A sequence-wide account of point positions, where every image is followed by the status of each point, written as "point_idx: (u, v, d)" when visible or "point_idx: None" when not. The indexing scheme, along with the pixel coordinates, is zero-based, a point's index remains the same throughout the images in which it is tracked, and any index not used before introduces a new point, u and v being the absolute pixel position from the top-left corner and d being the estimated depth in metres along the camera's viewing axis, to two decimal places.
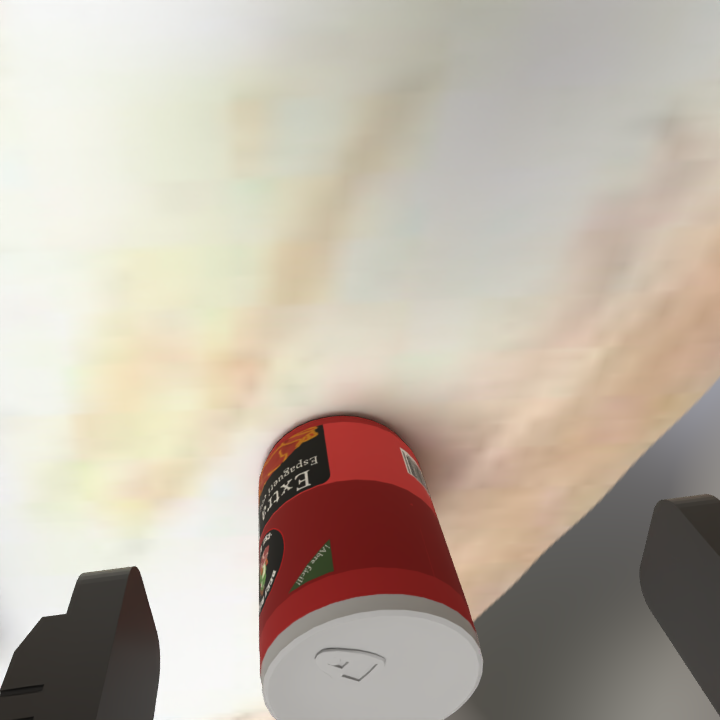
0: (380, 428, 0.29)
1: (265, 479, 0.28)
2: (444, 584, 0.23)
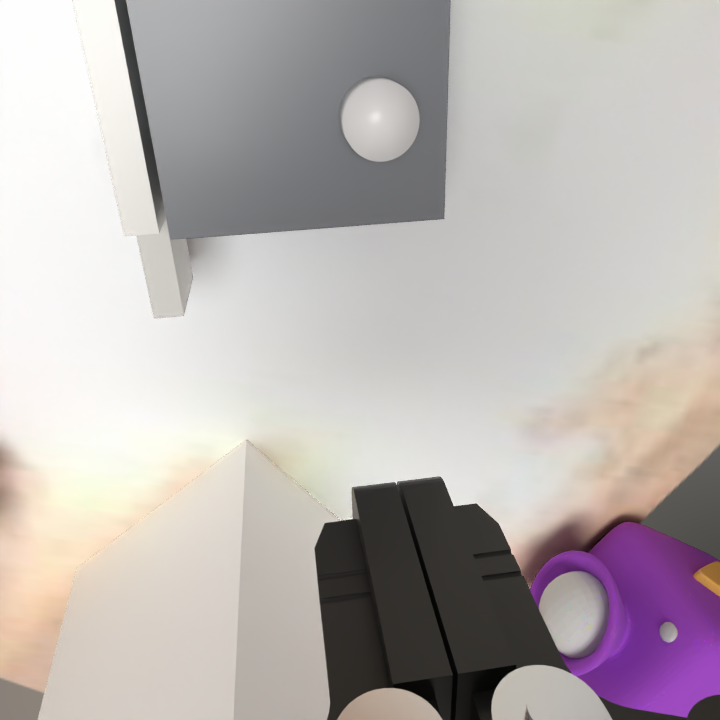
0: None
1: None
2: None
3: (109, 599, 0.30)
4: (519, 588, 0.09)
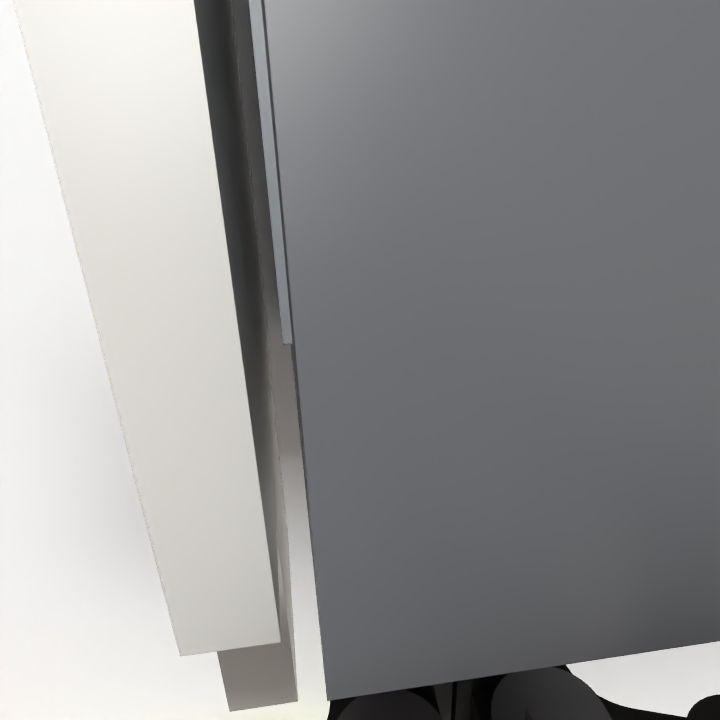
0: None
1: None
2: None
3: None
4: None
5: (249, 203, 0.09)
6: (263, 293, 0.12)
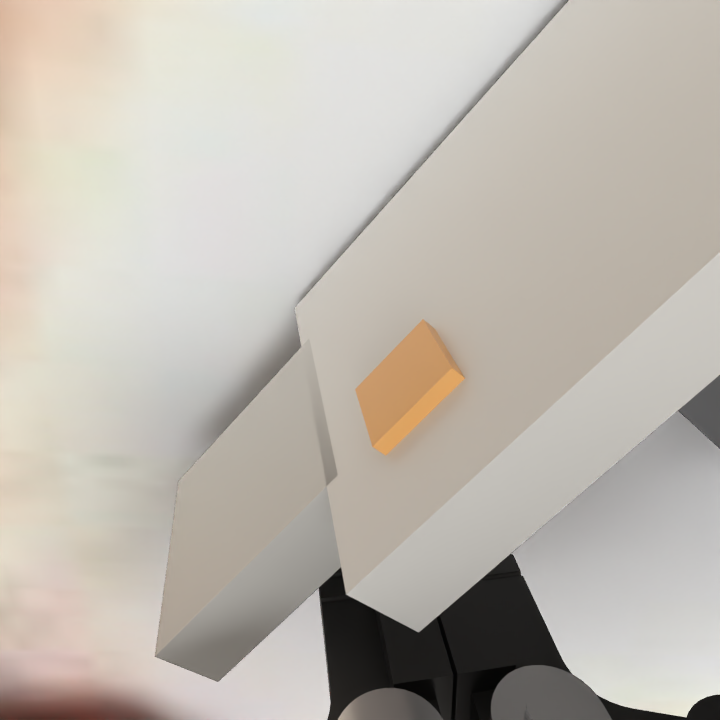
0: None
1: None
2: None
3: None
4: (519, 588, 0.09)
5: None
6: None
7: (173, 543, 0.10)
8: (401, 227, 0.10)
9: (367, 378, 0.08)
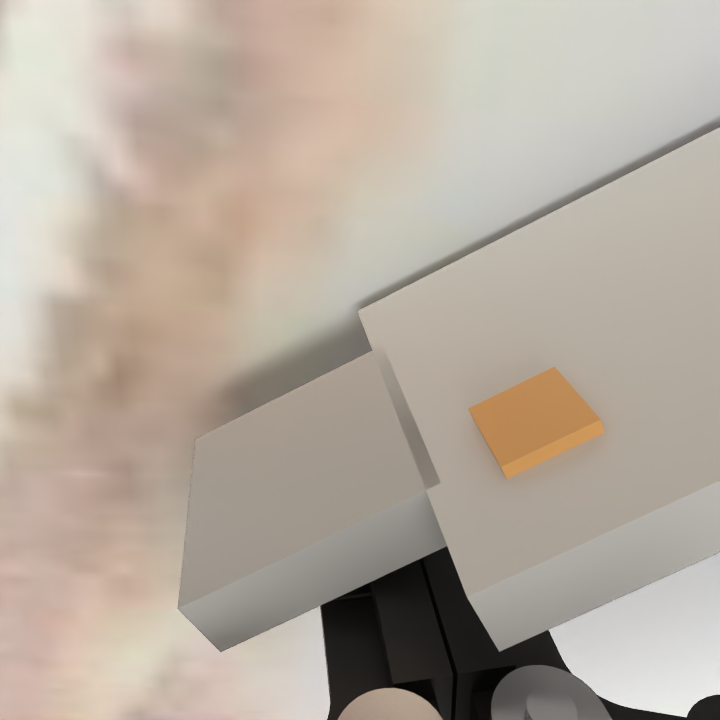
0: None
1: None
2: None
3: None
4: None
5: None
6: None
7: (191, 499, 0.10)
8: (502, 275, 0.11)
9: (484, 402, 0.08)
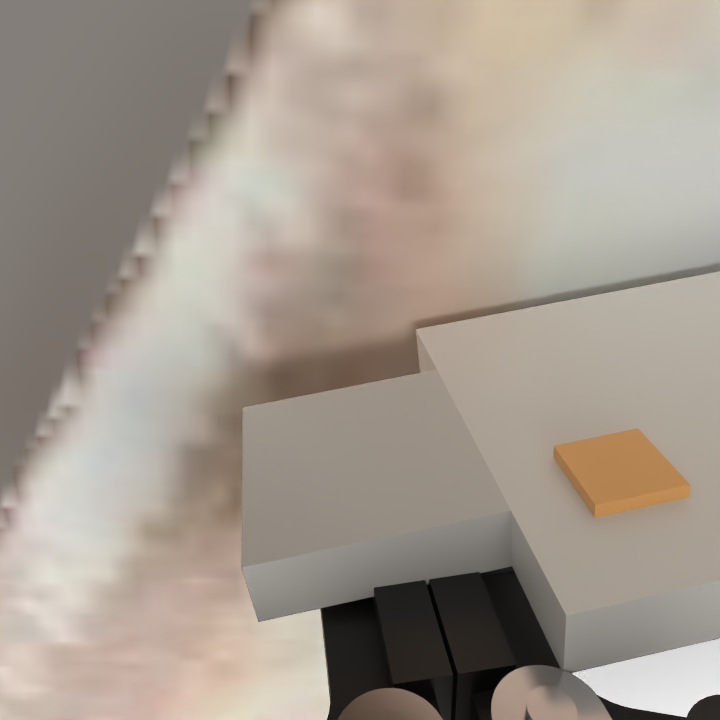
0: None
1: None
2: None
3: None
4: (519, 588, 0.09)
5: None
6: None
7: (243, 464, 0.10)
8: (567, 334, 0.12)
9: (569, 443, 0.09)
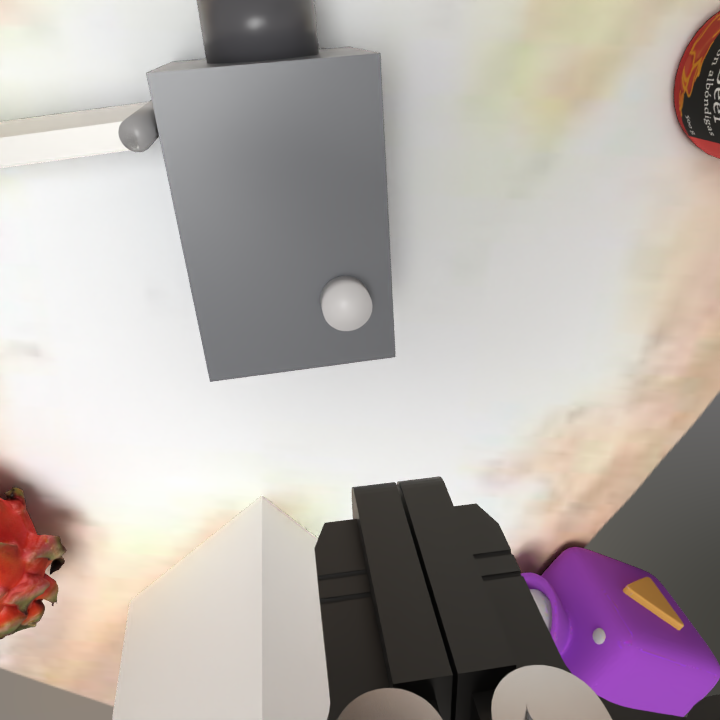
0: None
1: (709, 42, 0.30)
2: None
3: (160, 624, 0.38)
4: (519, 588, 0.09)
5: None
6: None
7: None
8: None
9: None
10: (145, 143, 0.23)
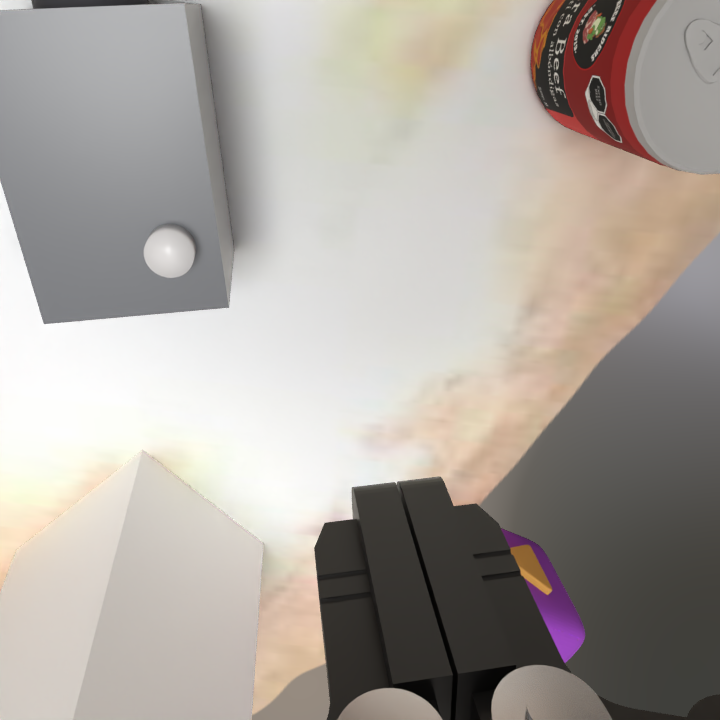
0: None
1: (554, 14, 0.31)
2: None
3: (34, 570, 0.39)
4: (519, 588, 0.09)
5: None
6: None
7: None
8: None
9: None
10: None
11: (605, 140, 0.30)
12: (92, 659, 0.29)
